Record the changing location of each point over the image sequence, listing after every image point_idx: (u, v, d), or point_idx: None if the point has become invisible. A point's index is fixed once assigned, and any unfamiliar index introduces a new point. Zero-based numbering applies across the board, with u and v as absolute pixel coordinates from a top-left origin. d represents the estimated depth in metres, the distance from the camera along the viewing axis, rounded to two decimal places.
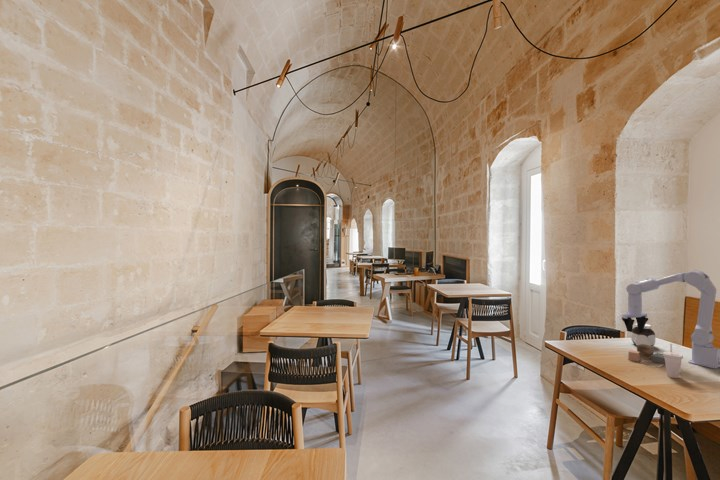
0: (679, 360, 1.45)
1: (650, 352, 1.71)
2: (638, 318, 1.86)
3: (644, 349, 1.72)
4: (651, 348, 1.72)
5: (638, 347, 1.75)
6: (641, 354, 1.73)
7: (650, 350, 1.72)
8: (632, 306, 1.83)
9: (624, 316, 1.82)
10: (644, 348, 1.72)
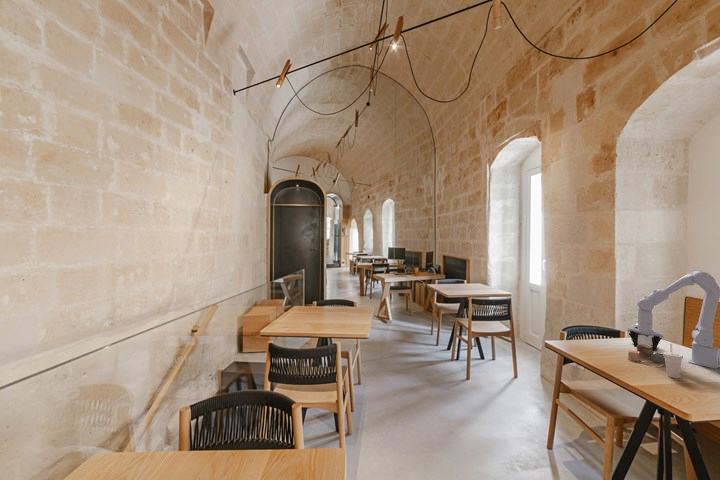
0: (679, 360, 1.45)
1: (650, 352, 1.71)
2: None
3: (644, 349, 1.72)
4: (651, 348, 1.72)
5: (638, 347, 1.75)
6: (641, 354, 1.73)
7: (650, 350, 1.72)
8: None
9: None
10: (644, 348, 1.72)
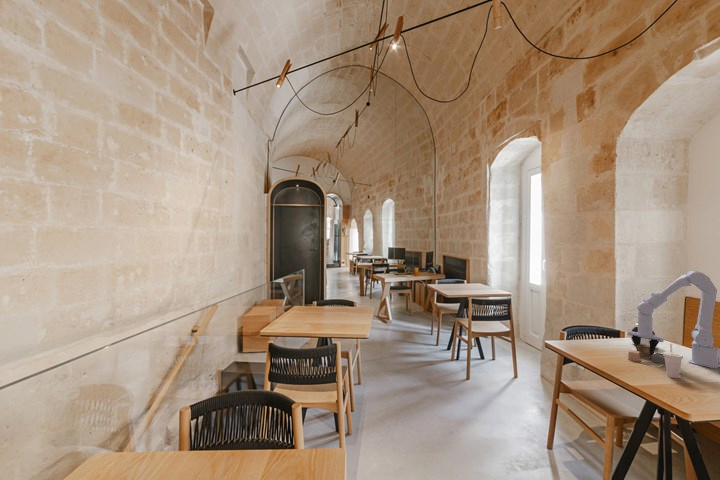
0: (679, 360, 1.45)
1: (649, 352, 1.71)
2: None
3: (644, 349, 1.72)
4: None
5: (638, 347, 1.75)
6: (641, 354, 1.73)
7: None
8: (638, 325, 1.76)
9: None
10: (644, 348, 1.72)
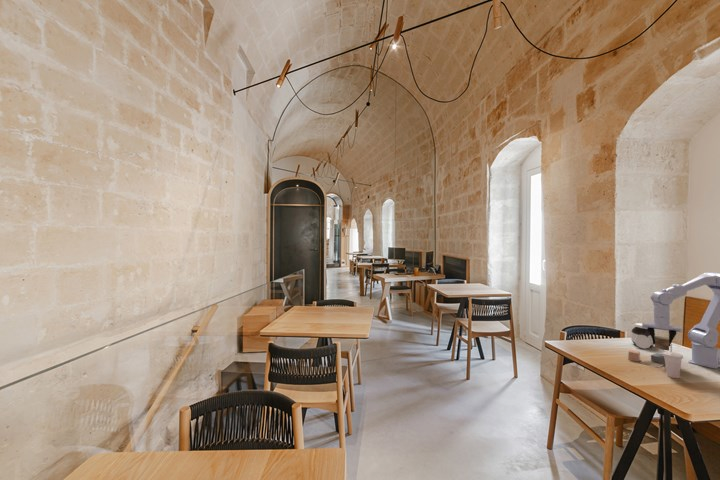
0: (679, 360, 1.45)
1: (668, 344, 1.62)
2: None
3: (664, 341, 1.62)
4: (668, 340, 1.63)
5: (657, 340, 1.64)
6: (660, 347, 1.63)
7: (668, 342, 1.63)
8: (654, 316, 1.66)
9: (642, 325, 1.69)
10: (664, 341, 1.62)
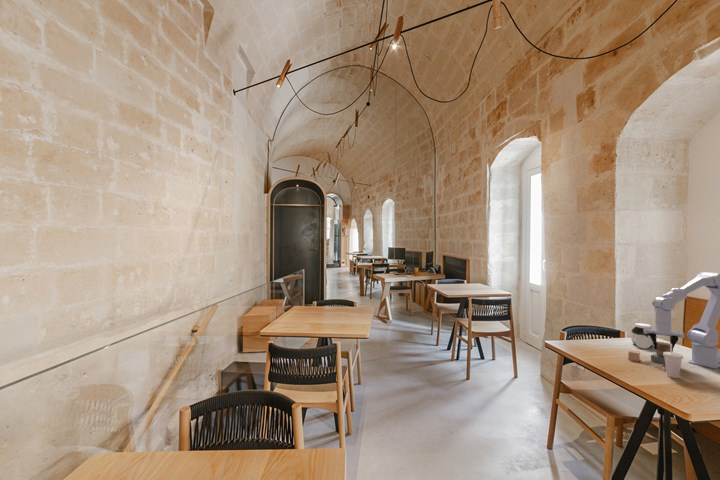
0: (679, 360, 1.45)
1: None
2: (670, 337, 1.63)
3: (666, 347, 1.61)
4: None
5: (658, 346, 1.63)
6: (662, 353, 1.62)
7: None
8: (656, 321, 1.65)
9: None
10: (666, 346, 1.61)
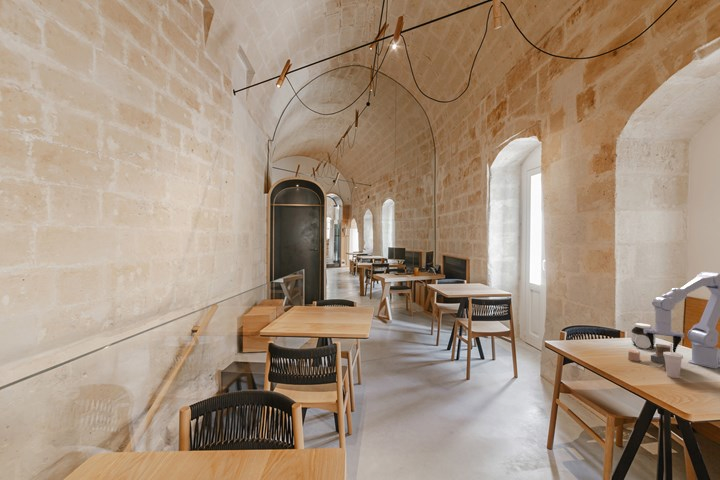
0: (679, 360, 1.45)
1: None
2: (673, 338, 1.62)
3: (666, 350, 1.61)
4: None
5: (659, 348, 1.63)
6: (662, 355, 1.62)
7: None
8: (656, 321, 1.65)
9: None
10: (666, 349, 1.61)
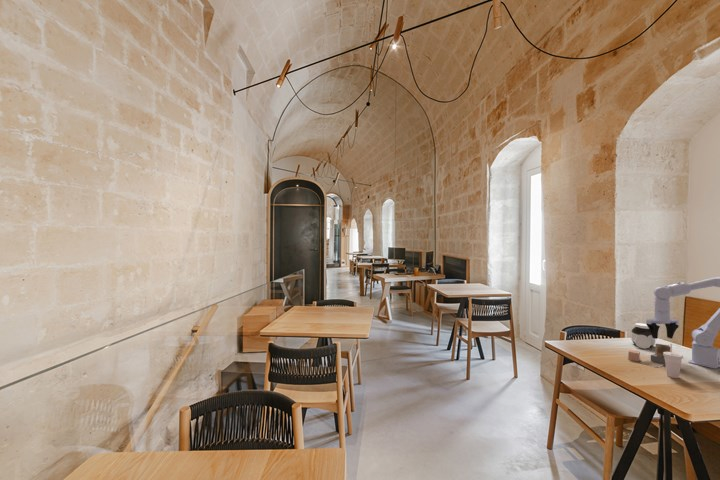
0: (679, 360, 1.45)
1: None
2: (667, 325, 1.71)
3: (666, 349, 1.61)
4: (669, 348, 1.63)
5: (658, 348, 1.63)
6: (662, 355, 1.62)
7: None
8: (658, 311, 1.70)
9: (648, 321, 1.70)
10: (665, 349, 1.61)
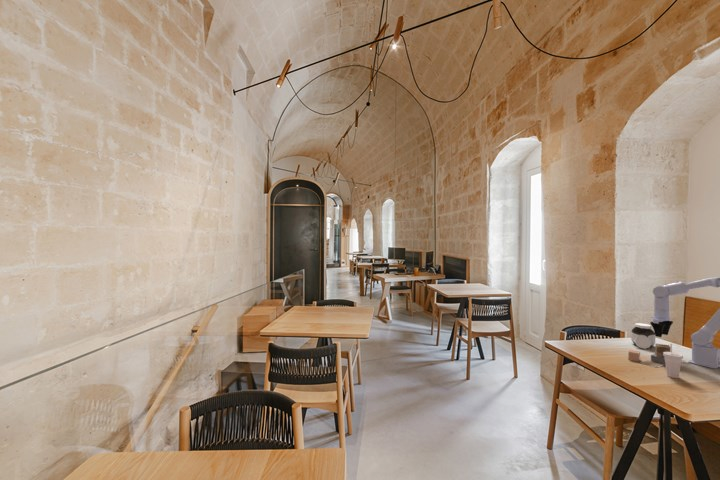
0: (679, 360, 1.45)
1: None
2: (662, 322, 1.77)
3: (665, 349, 1.61)
4: (669, 348, 1.63)
5: (658, 348, 1.63)
6: (661, 355, 1.62)
7: None
8: (661, 310, 1.73)
9: (655, 321, 1.71)
10: (665, 349, 1.61)
